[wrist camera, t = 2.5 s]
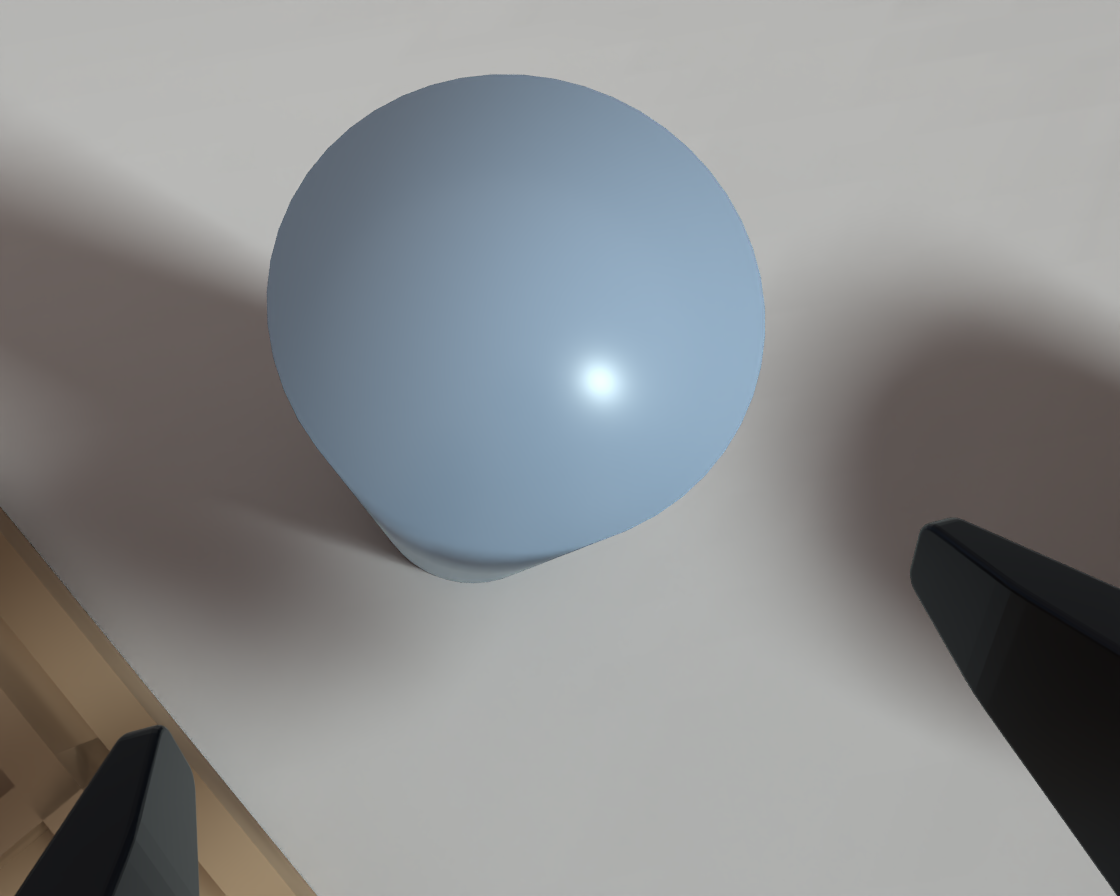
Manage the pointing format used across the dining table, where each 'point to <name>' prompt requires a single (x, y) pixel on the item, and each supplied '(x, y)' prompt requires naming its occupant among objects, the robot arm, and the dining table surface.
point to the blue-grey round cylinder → (513, 320)
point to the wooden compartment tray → (94, 735)
